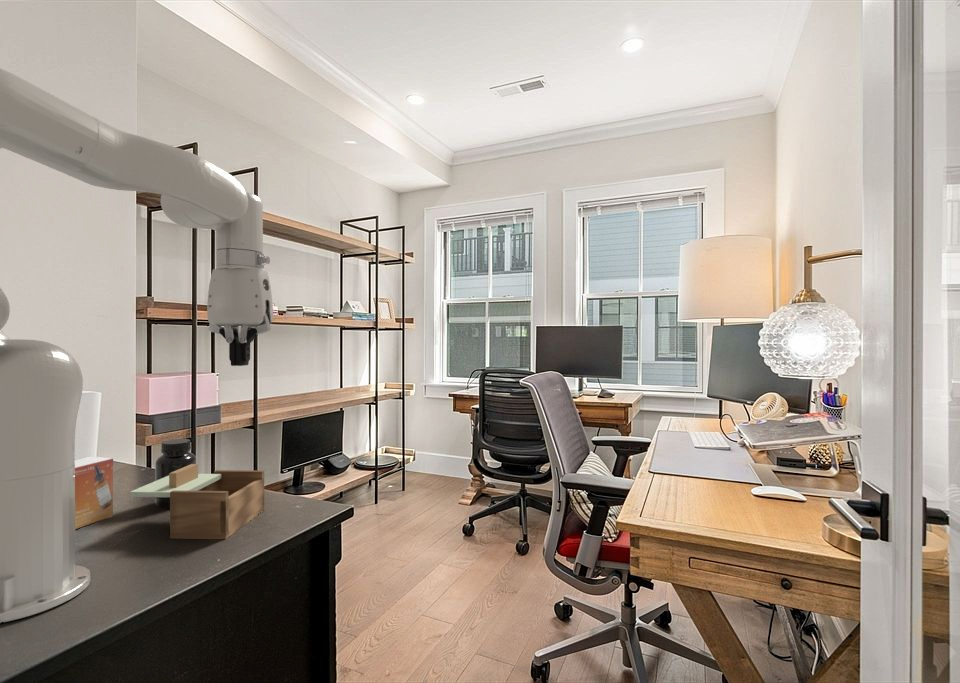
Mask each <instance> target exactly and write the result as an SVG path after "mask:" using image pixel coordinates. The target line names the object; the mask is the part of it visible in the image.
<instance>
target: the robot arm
mask: <svg viewBox="0 0 960 683" xmlns="http://www.w3.org/2000/svg"><path fill="white" fill-rule="evenodd" d="M2 149H4V150H7V151H10V152H13V153H14V154H17V155H19V156H21V157H24V158H26V159H29V160H31V161H33V162H37V163H38V164H41V165H44V166H46V167H48V168H50V169H53V170H55V171H57V172H60V173H63V174H65V175H67V176H69V177H72V178H74V179H77V180H78V181H81V182H83V183H85V184H89V185H90V186H94V187H99V188H104V189H107V190H114V191H116V190H117V191H125V192H127V191H128V192H143V193H152V194H156V195H157V194H158V195H161V196H160V206H161V210H162V211H163V213H164V214H165V216H166V217H167V218H168V219H170V221H171V222H174V223H175V224H176V225H179V226H181V227H185V228H190V229H199V230H200V229H202V230H203V229H204V230H214V231H215V268H213V269H212V271H211V275H210V280H209V284H208V294H207V304H206V306H207V307H206V313H207V320H208V323H209V325H208V331H209V332H211V333H215V334H219V335H221V336H222V337H223V338H224V339H225V342H226V343H227V344H229V346H228V354H229V356H228V359H229V361H230V366H232V367H236V366H237V367H243V366H244V367H245V366H249V361H250V360H251V343H253V342H254V340H255V339H256V338H257V337H258V336H259V335H261V334H266V333H269V332H271V331H272V329H271V324H272V323H273V321H274V307H273V305H274V304H273V303H274V302H273V294H272V288H271V287H272V286H271V282H270V278H269V277H270V276H269V273H268V271H266V270H264V268H265V267H264V266H265V265H269V264H270V263H271V262H270V261H271V259H270V257H269V255H268V256H265V255H264V253H263V252H264V250H263V249H264V248H263V247H264V245H263V244H264V243H263V242H264V241H263V240H264V238H263V237H264V230H263V229H264V228H263V226H264V222H263V220H264V218H263V216H264V215H263V214H264V213H263V212H264V209H263V208H264V207H263V201H262V200H261V198H260V197H259V196H257V195H256V194H254V193H252V192H248V191H246V190H245V188H244V186H243V185H242V184H241V183H240V181H239V180H237V178H235V177H234V175H233V174H231V173H229V172H227V171H226V170H225V169H222V168H221V167H219V166H218V165H216V164H214V163H212V162H210V161H208V160H206V159H205V158H204V157H201V156H199V155H197V154H195V153H192V152H191V151H190V152H189V151H188V150H185V149H182V148H179V147H175V146H173V145H170V144H166V143H164V142H163V143H162V142H159V141H156V140H153V139H149V138H147V137H144V136H141V135H137V134H132V133H129V132H125V131H122V130H120V129H117V128H116V127H113V126H111V125H109V124H108V123H105V122H103V121H102V120H100V119H98V118H97V117H95V116H92V115H90V114H89V113H87V112H84V111H83V110H82V109H79V108H77V107H75V106H73V105H72V104H70V103H69V102H66V101H64V100H62V99H61V98H59V97H57V96H55V95H53V94H51V93H49V92H47V91H46V90H44V89H42V88H40V87H38V86H36V85H35V84H33V83H31V82H29V81H27V80H26V79H24V78H22V77H19V76H18V75H16V74H14V73H11V72H9V71H7V70H5V69H2V68H0V150H2ZM10 310H11V307H10V303H9V299H8V297H7V296H6V294H5V292H4V291H3V289H2V288H1V287H0V624H1V623H2V622H3V623H7V622H12V621H16V620H20V619H23V618H26V617H27V618H28V617H31V616H35V615H36V614H40V613H43V612H45V611H48V610H50V609H53V608H55V607H57V606H60V605H62V604H64V603H66V602H67V601H69V600H72V599H73V598H75V597H76V596H78V595H79V594H80V593H82V592H83V591H84V590H86V588H88V586H89V585H90V583H91V578H92V577H91V571H90V569H88V568H87V567H85V566H81V565H77V564H76V529H75V460H76V459H75V456H76V455H75V453H76V450H75V449H76V429H77V427H76V426H77V419H78V414H79V410H80V404H81V399H82V395H83V389H84V388H83V385H84V381H83V380H84V379H83V372H82V370H81V368H80V365H79V363H78V362H77V360H76V359H75V358H74V357H73V355H71V353H70V352H68V351H66V350H65V349H64V348H62V347H60V346H59V345H56V344H53V343H50V342H47V341H44V340H36V339H22V338H21V339H18V338H17V339H15V338H14V339H12V338H11V339H10V338H9V337H8V335H6V334H5V332H3V331H2V329H3V328H4V327H5V325H6V324H7V322H8V320H9V317H10V312H11V311H10Z"/></svg>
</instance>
